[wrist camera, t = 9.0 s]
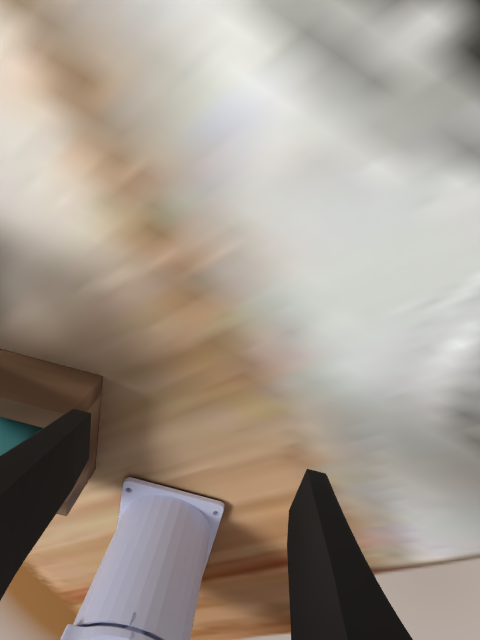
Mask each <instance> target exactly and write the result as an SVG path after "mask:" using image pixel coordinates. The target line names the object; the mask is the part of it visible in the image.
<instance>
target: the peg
mask: <svg viewBox="0 0 480 640" xmlns="http://www.w3.org/2000/svg"><path fill="white" fill-rule="evenodd" d="M41 429H43V428H42V427H38V426H34V425H30V424H27V423H23V422H19V421H15V420H12V419H8V418H4V417H0V456H1V455H2V454H4V453H6V452H7V451H9V450H10V449H12V448H13V447H15V446H17V445H18V444H20V443H21V442H23V441H25V440H26V439H28V438H29V437H31V436H32V435H34V434H35V433H37V432H38V431H40V430H41Z"/></svg>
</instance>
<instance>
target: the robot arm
mask: <svg viewBox="0 0 480 640" xmlns="http://www.w3.org/2000/svg"><path fill="white" fill-rule="evenodd" d="M90 430H91V413H88V412H84V411H80V410H77V409H72V410H70V411H68V412H67V413H65V414H64V415H62V416H61V417H59V418H58V419H56V420H55V421H53V422H52V423H50V424H49V425H47V426H46V427H44V428H43V429H41V430H40V431H38V432H37V433H35V434H34V435H32V436H31V437H29V438H28V439H26V440H25V441H23V442H21V443H20V444H18V445H17V446H15V447H13V448H12V449H10V450H9V451H7V452H6V453H4V454H2V455H1V456H0V600H1V598H2V597H3V595H4V593H5V591H6V590H7V587H8V586H9V584H10V583H11V581H12V579H13V577H14V576H15V574H16V572H17V571H18V569H19V568H20V566H21V565H22V563H23V561H24V560H25V558H26V557H27V555H28V554H29V553H30V551H31V550H32V548H33V547H34V545H35V544H36V542H37V541H38V539H39V538H40V536H41V535H42V534H43V532H44V531H45V529H46V528H47V526H48V525H49V523H50V522H51V520H52V519H53V517H54V516H55V515H56V513H57V512H58V510H59V509H60V507H61V506H62V504H63V503H64V501H65V500H66V498H67V497H68V495H69V494H70V492H71V491H72V489H73V488H74V486H75V484H76V482H77V480H78V479H79V477H80V475H81V473H82V471H83V469H84V467H85V465H86V463H87V461H88V459H89V451H90ZM224 506H225V505H224V503H222V502H221V501H218V500H214V499H210V498H207V497H203V496H199V495H195V494H192V493H188V492H184V491H180V490H177V489H173V488H169V487H165V486H162V485H158V484H154V483H150V482H147V481H143V480H139V479H135V478H131V477H128V478H126V479H125V481H124V483H123V488H122V496H121V504H120V511H119V519H118V527H117V529H116V531H115V533H114V536H113V538H112V540H111V542H110V544H109V547H108V549H107V551H106V553H105V555H104V558H103V560H102V562H101V564H100V566H99V569H98V571H97V573H96V575H95V577H94V580H93V582H92V584H91V586H90V588H89V591H88V593H87V595H86V597H85V599H84V602H83V604H82V606H81V608H80V610H79V613H78V615H77V617H76V619H75V621H74V624H73V625H70V624H68V625H67V627H66V628H65V631H64V633H63V635H62V637H61V639H60V640H190V637H191V632H192V627H193V622H194V617H195V612H196V606H197V601H198V596H199V591H200V586H201V581H202V576H203V573H204V570H205V567H206V564H207V561H208V558H209V555H210V552H211V549H212V545H213V542H214V539H215V536H216V533H217V530H218V527H219V524H220V521H221V518H222V515H223V512H224ZM287 551H288V574H289V595H290V615H291V640H412V638H411V636H410V635H409V633H408V632H407V630H406V629H405V627H404V625H403V624H402V622H401V621H400V619H399V618H398V616H397V614H396V613H395V611H394V609H393V608H392V606H391V604H390V603H389V601H388V599H387V598H386V596H385V594H384V593H383V591H382V589H381V587H380V585H379V584H378V582H377V580H376V578H375V576H374V574H373V573H372V571H371V569H370V567H369V565H368V563H367V561H366V560H365V558H364V556H363V554H362V552H361V550H360V548H359V546H358V544H357V542H356V540H355V538H354V535H353V533H352V531H351V529H350V527H349V525H348V523H347V521H346V519H345V516H344V514H343V512H342V510H341V507H340V505H339V503H338V501H337V498H336V496H335V494H334V491H333V489H332V487H331V484H330V482H329V479H328V477H327V475H326V474H325V473H321V472H317V471H313V470H309V469H307V470H306V473H305V475H304V477H303V479H302V482H301V484H300V486H299V489H298V491H297V493H296V496H295V498H294V500H293V503H292V505H291V507H290V510H289V522H288V540H287Z"/></svg>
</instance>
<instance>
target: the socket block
mask: <svg viewBox="0 0 480 640" xmlns="http://www.w3.org/2000/svg"><path fill="white" fill-rule="evenodd" d="M101 389H102V376H99V375H95V374H91V373H87V372H84V371H80V370H76V369H72V368H69V367H65V366H61V365H57V364H53V363H50V362H46V361H42V360H38V359H35V358H31V357H27V356H23V355H20V354H16V353H12V352H8V351H5V350H1V349H0V417H4V418H8V419H12V420H15V421H19V422H23V423H27V424H30V425H34V426H38V427H42V428H44V427H46V426H47V425H49V424H50V423H52V422H53V421H55V420H56V419H58V418H59V417H61V416H62V415H64V414H65V413H67V412H68V411H70V410H72V409H77V410H80V411H84V412H88V413H91V430H90V451H89V459H88V461H87V463H86V465H85V467H84V469H83V471H82V473H81V475H80V477H79V479H78V480H77V482H76V484H75V486H74V488H73V489H72V491H71V492H70V494H69V495H68V497H67V498H66V500H65V501H64V503H63V504H62V506H61V507H60V509H59V510H58V512H57V513H56V514H60V515H64V516H67V515H68V513H69V511H70V510H71V508H72V507H73V505H74V503H75V502H76V500H77V498H78V497H79V495H80V493H81V492H82V490H83V489H84V487H85V485H86V484H87V482H88V480H89V479H90V477H91V476H92V474H93V472H94V471H95V465H96V453H97V440H98V427H99V415H100V402H101Z"/></svg>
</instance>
